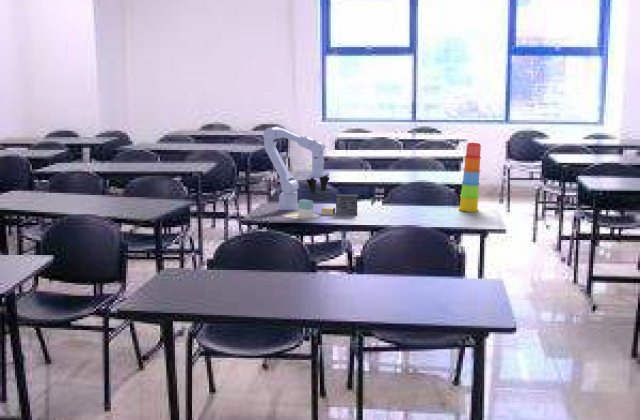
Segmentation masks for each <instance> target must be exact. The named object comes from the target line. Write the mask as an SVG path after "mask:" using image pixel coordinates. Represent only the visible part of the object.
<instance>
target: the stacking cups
mask: <svg viewBox="0 0 640 420" xmlns="http://www.w3.org/2000/svg"><path fill="white" fill-rule="evenodd" d="M481 147H482V145H481V144H480V143H479V142H468V143H467V144H466V148H465V149H466V152H465V156H464V158H465V159H464V168H463V170H462V171H463V176H462V181H461V194H459V196H460V202H459V207H458V210H459V211H462V212H469V213H470V212H471V213H475V212H477V211H478V212H479V210H480V209H479V208H478V207H479V205H478V204H479V198H480V196H479V186H480V185H481V183H480V174H481V173H480V172H481V171H482V170H480V169H481V168H480V166H481V159H482V157H481V149H482V148H481Z"/></svg>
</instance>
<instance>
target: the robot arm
mask: <svg viewBox="0 0 640 420" xmlns="http://www.w3.org/2000/svg"><path fill="white" fill-rule="evenodd" d="M262 137H263V143H264V144H263V145H264V149H265V152H266V153H267V155H268V157H269V159H270V161H271V163H272V165H273V167H274V169H275V171H276V172H277V174H278V176H279V183H280V187H281V188H280V189H281V191H282V192H281V193H280V194H279V196H278V208H277V210H279V211H294V210H298V190H299V187H300V184H299V182H298V180H297V179H295V177H294V175H292V174H291V173H290V171H289V170H288V168H287V165H286V164H285V162H284V161H283V158H282V156H281V155H280V153H279V150H278V149H277V143H278V141H280V139H281V138H283V139H287V140H289V141H293V142H295V143H297V145H298V146H299V147H301V148H303V149H305V150H307V151H308V150H309V151H310V152H311V162H312V163H311V174H308V175H306V179H305V181H306V182H307V184H308V186H309V190H310V193H311V194H315V193H316V184H317V182H318V181H317V179H319V182H320V191H321V192H326V188H327V185H328V183H329V180H330V177H329V176H330V172H324V151H325V148H326V146H325V143H324V142H322V141H321V140H318V141H317V139H313V138H311V137H309V136H308V135H306V134H305V135H301V136H300V135H298V134H295V133H293V132H292V131H289V130H287V129H285V128H283V127H280V126H273V127H267V128H266V129H264V132H263V134H262Z"/></svg>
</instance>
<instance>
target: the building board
mask: <svg viewBox="0 0 640 420" xmlns="http://www.w3.org/2000/svg"><path fill="white" fill-rule="evenodd" d="M280 216H281V217H285V218H289V219H290V218H291V219H295V220H301V221H305V220H311V219H314V218H319V217H323V215H322V214H317V213H313V217H309V218H305V217H300V216H299V213H298V211H295V212H291V213H285V214H282V215H281V214H280Z"/></svg>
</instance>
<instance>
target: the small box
mask: <svg viewBox="0 0 640 420" xmlns="http://www.w3.org/2000/svg"><path fill="white" fill-rule="evenodd" d="M335 216H353V217H354V216H356V217H357V216H358V194H345V193H343V194H336V195H335Z"/></svg>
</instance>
